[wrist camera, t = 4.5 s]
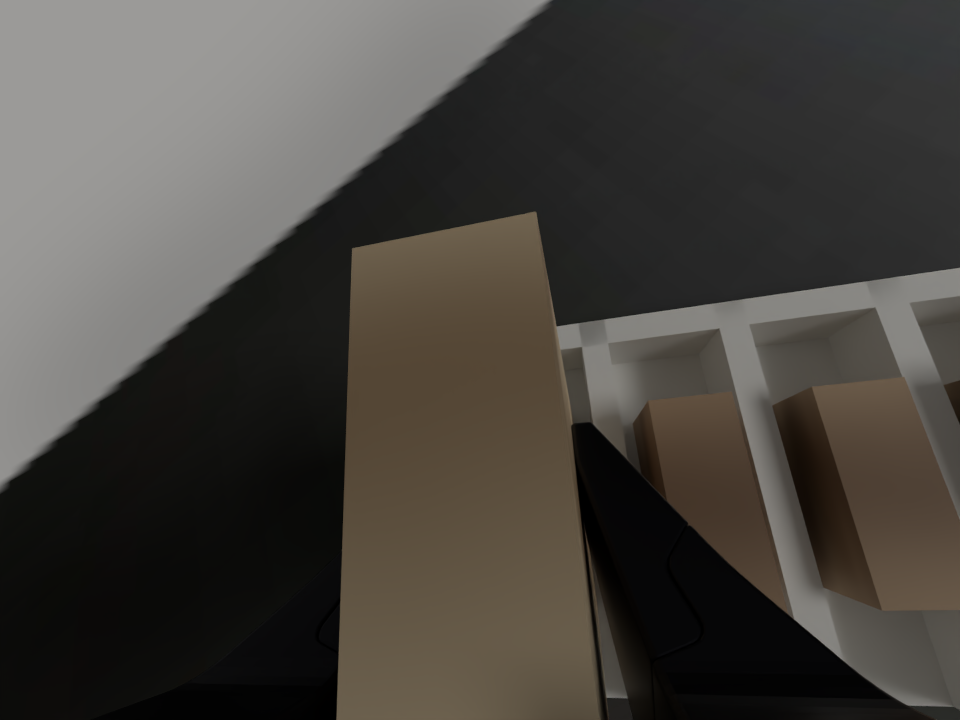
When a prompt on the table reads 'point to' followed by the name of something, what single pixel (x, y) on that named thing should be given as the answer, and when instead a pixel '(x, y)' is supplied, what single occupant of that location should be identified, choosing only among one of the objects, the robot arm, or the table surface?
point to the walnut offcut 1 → (709, 479)
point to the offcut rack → (756, 387)
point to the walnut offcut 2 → (872, 495)
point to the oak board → (462, 489)
